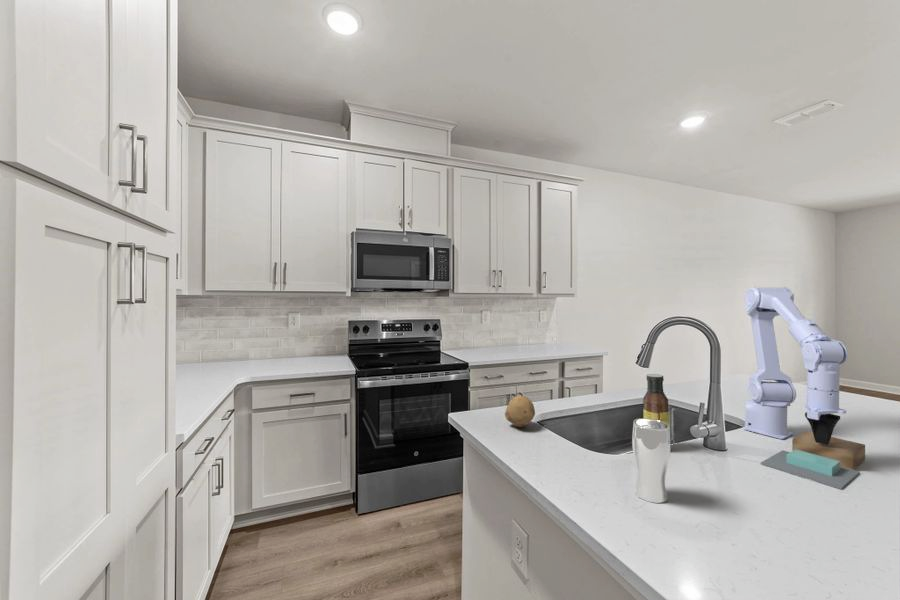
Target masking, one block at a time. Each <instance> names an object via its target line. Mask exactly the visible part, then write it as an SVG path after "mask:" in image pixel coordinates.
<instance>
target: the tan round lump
mask: <svg viewBox="0 0 900 600" xmlns="http://www.w3.org/2000/svg"><path fill="white" fill-rule="evenodd" d="M506 406H507V407H506V408H505V411H504V417H505V419H506V420H507V421H508V422H510V423H511V424H513V425H514V426H516V428H524V427H526V426H527V425H528V424H530V423H531V422H532V421H533V420H534V417H535V416H536V409H535V406H534V403H533V401H532V400H530V399H529V398H528V397H527V396H524V395H516V396H514V397H512V398H511V399H510V401H509V402H508V404H507V405H506Z"/></svg>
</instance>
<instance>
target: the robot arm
mask: <svg viewBox="0 0 900 600" xmlns="http://www.w3.org/2000/svg"><path fill="white" fill-rule="evenodd" d="M794 300H795V294H794V293H793V291H792V290H791V288H789V287H788V286H782V287H775V286H774V287H772V286H771V287H757V286H751V287H750V288H749V289H748V290H747V291H746V293H745V295H744V303H745V310H746V315H747V316H749V317H750V321H751V322H750V323H751V327H752V334H753V341H754V342H753V343H754V348H755V350H754V351H755V354H756V355H755V356H756V363H757V369H758V370H757V371H756V372H754V373H752V374H751V375H749V377H748V387H747V392H748V395H749V397H750V398H751V399H749V400H747V401H746V403H745V407H744V428H743V430H744V429H745V430H744V431H747V432H753V433H756V434H760V435H764V436H768V437H771V438H776V439H779V440H785V439H786V438H789V437H790V436H793V435H794V434H793V432H792V431H788V407H791V404H793V403H794V402H795V400H796V398H797V390H796V388H795V387H794V385H793V381H792V378H791V376H788V375H787V374H786V373H784V372H783V371H782V370H781V366H780V365H781V364H780V359H779V353H778V345H777V340H776V335H775V327H774V326H775V325H774V319H775V317H778V316H780V317H782V318H783V320H785V322H786V323H787V324H789V327H788V331H789V333H790V335H791V336H792V338H793V339H794V340H795V341H796V342H797V344H798V345H799V346H800V347H801V349H800V354H801V358H802V360H803V366H804V368H805V370H806V371H807V372H806V403H805V408H806V412H805V413H804V416H805V418H806V420H807V421H808V423H809V425H810V427H811V430H812V431H811V432H813V435H814V438H815V441H816V442H817V443H821V444H825V445H827V444H829V442H830V439H831V437H832V435H833V432H834V429H835V427H836V425H837V424H838V422H839V421H840V420H841V416H840V415H837V414H841V415H842V414H843V415H844V414H846V413H847V410H846V409H843V408H840V379H841V378H840V373H841V372H840V370H841V369H840V367H841V365H842V364H844V363H845V362H846V360H847V357H848V350H847V347H846V346H845V345H844V343H843V342H842V341H839V340H835V339H833V338H830V337H829V336H827V334H826V333H825V332H824V330H822V328H821V327H820V326H819V325H818V324H817V323H816V321H815V320H812V319H808V318H805V316H804V315H803V314H802V313H801V311H800V310H799V308H798V307H797V305H796V303H795V302H794Z"/></svg>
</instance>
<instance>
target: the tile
mask: <svg viewBox="0 0 900 600" xmlns="http://www.w3.org/2000/svg"><path fill="white" fill-rule="evenodd" d="M789 452H790V451H789ZM786 463H789V464H793V465H796V466H799V467H803V468H806V469H810V470H813V471H816V472H820V473H823V474H826V475H830V476H833V475H834V474H835V473H837V472H838V471H839V470H840V461H837V460H833V459H830V458H826V457H822V456H819V455H815V454H811V453H808V452H804V451H800V450H796V449H795V450H793V451H792V450H791V452H790V453H788V454H787V459H786Z"/></svg>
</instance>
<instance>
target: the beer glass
mask: <svg viewBox="0 0 900 600" xmlns="http://www.w3.org/2000/svg"><path fill="white" fill-rule="evenodd" d="M632 423H633V424H632V435H631V437H632V438H631V445H632V454H633V460H634V466H635V471H636V477H635V479H636V480H635V484H634V489H633V491H634V492H633V493H634V495H636V496H637V497H638V498H640V499H641V500H643V501H644V502H645V501H646V502H648V503H655V504H663V503H665V502H666V501H668V493H667V488H666V487H667V486H666V478H667V477H666V476H667V471H668V466H669V463H670V457H671V455H670V454H671V431H670V432H669V425H668V424H666V423H664V422H662V421H659V420H654V419H646V418H636V419H634V420H633V422H632Z"/></svg>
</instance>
